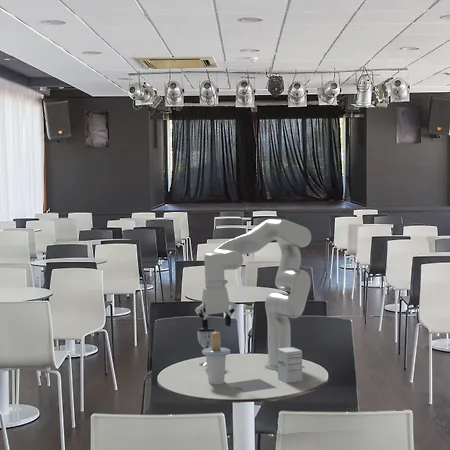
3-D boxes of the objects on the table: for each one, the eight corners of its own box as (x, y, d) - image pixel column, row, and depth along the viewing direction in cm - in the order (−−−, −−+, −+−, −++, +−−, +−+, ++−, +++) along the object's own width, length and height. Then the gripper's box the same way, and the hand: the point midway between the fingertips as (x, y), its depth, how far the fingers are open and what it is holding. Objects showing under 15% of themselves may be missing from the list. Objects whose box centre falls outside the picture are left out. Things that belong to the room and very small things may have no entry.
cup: (224, 386, 302) (223, 355, 301) (204, 385, 303) (203, 354, 303) (228, 380, 310) (227, 350, 309) (208, 379, 311) (208, 350, 310)
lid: (222, 348, 313) (222, 328, 312) (234, 354, 303) (234, 333, 302) (197, 351, 308) (197, 331, 308) (209, 357, 298) (208, 336, 298)
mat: (259, 379, 310) (259, 378, 310) (276, 388, 297) (276, 387, 297) (227, 384, 304) (227, 383, 304) (243, 393, 291) (243, 392, 291)
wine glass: (205, 361, 342) (205, 327, 341) (220, 363, 337) (219, 329, 336) (194, 365, 336) (193, 330, 335) (209, 367, 331) (208, 332, 330)
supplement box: (277, 379, 310) (277, 348, 309) (293, 377, 313) (293, 346, 312) (286, 384, 303) (285, 352, 302) (302, 381, 306) (302, 350, 305)
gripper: (230, 280, 311) (232, 323, 312) (190, 285, 304) (192, 328, 305) (239, 283, 304) (240, 326, 306) (198, 288, 297) (200, 332, 298)
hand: (216, 327), depth 305 cm, fingers open, 9 cm apart
